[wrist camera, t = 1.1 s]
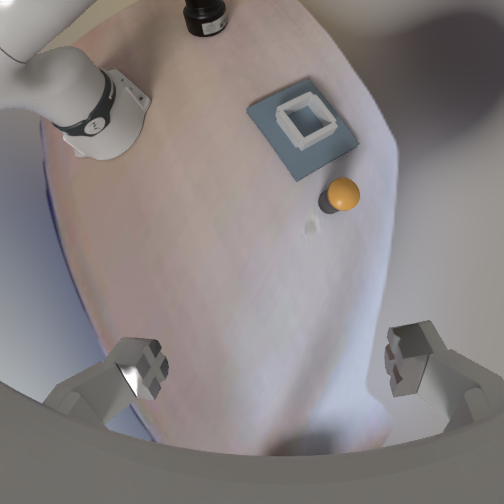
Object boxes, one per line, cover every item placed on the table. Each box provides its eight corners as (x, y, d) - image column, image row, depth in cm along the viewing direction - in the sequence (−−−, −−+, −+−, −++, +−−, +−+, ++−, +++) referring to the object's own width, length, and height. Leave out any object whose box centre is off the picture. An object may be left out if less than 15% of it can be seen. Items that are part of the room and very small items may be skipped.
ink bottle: (214, 42, 47) (208, 5, 35) (179, 35, 47) (168, 1, 35) (234, 17, 47) (232, -19, 35) (201, 11, 47) (194, -23, 35)
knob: (310, 197, 47) (323, 187, 39) (332, 184, 47) (348, 172, 39) (325, 221, 48) (341, 215, 39) (347, 207, 47) (365, 199, 39)
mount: (246, 112, 47) (246, 99, 42) (307, 82, 47) (312, 69, 42) (296, 182, 47) (301, 174, 42) (356, 146, 47) (366, 137, 42)
